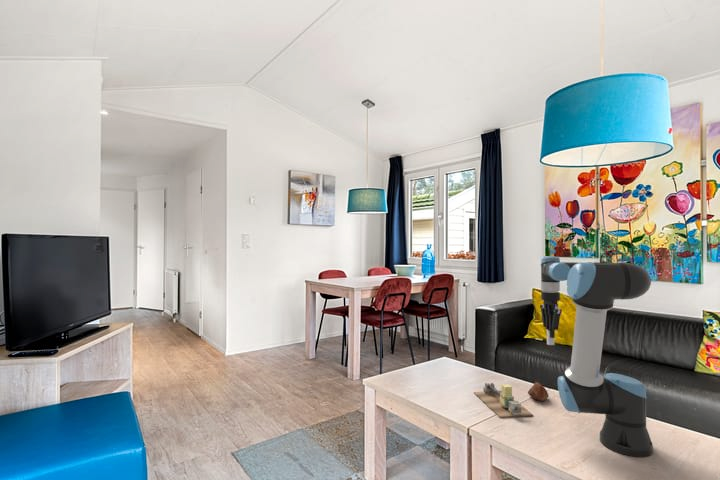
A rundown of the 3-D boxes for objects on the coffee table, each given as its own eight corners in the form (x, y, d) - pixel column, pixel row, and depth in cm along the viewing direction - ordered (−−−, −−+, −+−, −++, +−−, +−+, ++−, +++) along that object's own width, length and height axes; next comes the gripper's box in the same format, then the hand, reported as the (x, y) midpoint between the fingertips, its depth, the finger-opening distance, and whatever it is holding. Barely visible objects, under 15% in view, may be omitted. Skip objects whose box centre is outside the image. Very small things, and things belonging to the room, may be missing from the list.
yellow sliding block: (513, 407, 164) (513, 387, 164) (504, 407, 163) (504, 387, 163) (509, 403, 168) (509, 383, 168) (499, 403, 167) (499, 384, 167)
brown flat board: (533, 416, 158) (533, 403, 158) (499, 418, 157) (499, 404, 157) (502, 392, 184) (502, 380, 184) (473, 393, 182) (473, 381, 182)
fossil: (539, 398, 168) (533, 374, 174) (522, 401, 174) (517, 378, 179) (555, 403, 174) (550, 380, 180) (538, 406, 180) (533, 383, 185)
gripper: (567, 293, 169) (567, 348, 169) (549, 289, 182) (549, 340, 182) (551, 293, 168) (551, 348, 168) (534, 289, 181) (534, 341, 181)
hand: (550, 344), depth 175 cm, fingers closed
